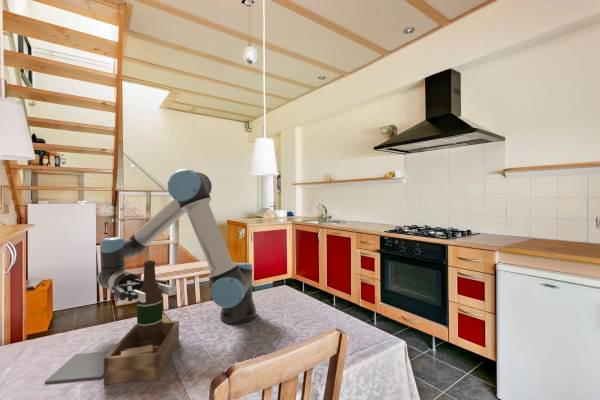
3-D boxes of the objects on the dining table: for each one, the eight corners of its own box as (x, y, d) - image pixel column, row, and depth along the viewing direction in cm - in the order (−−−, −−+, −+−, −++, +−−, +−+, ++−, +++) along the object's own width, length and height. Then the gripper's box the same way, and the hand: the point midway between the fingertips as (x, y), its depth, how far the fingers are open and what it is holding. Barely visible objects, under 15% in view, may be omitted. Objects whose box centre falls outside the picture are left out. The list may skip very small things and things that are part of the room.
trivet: (123, 352, 94) (123, 350, 94) (101, 378, 80) (101, 376, 80) (76, 355, 91) (76, 353, 91) (44, 383, 77) (44, 381, 77)
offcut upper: (152, 354, 87) (152, 344, 87) (152, 360, 83) (152, 350, 83) (121, 361, 83) (121, 351, 83) (120, 368, 79) (120, 357, 79)
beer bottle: (143, 329, 97) (142, 259, 97) (167, 328, 97) (166, 258, 97) (131, 340, 89) (130, 264, 89) (157, 339, 90) (156, 263, 90)
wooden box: (178, 340, 101) (178, 321, 101) (158, 379, 80) (158, 354, 80) (136, 343, 99) (136, 323, 99) (103, 384, 77) (103, 358, 77)
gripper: (152, 286, 112) (186, 296, 99) (91, 301, 95) (122, 317, 82) (152, 267, 112) (186, 275, 99) (91, 279, 95) (122, 291, 82)
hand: (157, 294), depth 90 cm, fingers closed on beer bottle, 7 cm apart
